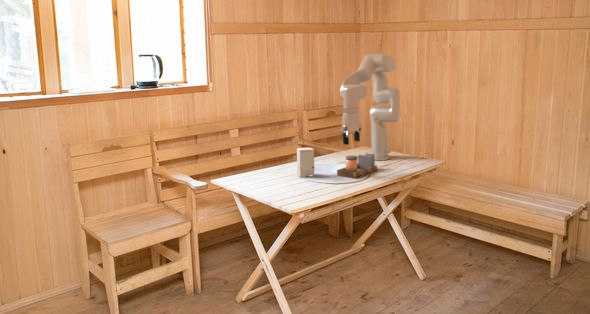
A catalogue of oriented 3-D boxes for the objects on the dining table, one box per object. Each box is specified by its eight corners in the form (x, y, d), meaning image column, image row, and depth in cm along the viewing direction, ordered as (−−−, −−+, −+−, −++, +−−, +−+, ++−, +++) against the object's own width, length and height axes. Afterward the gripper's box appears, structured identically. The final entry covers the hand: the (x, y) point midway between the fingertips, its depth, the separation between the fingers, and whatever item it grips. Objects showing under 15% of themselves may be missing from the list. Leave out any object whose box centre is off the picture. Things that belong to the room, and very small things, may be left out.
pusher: (364, 165, 314) (364, 153, 312) (377, 167, 308) (377, 154, 307) (358, 167, 310) (358, 154, 308) (371, 169, 304) (370, 156, 303)
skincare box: (300, 177, 297) (299, 150, 294) (296, 175, 303) (295, 148, 300) (315, 176, 300) (314, 148, 296) (311, 173, 305) (310, 146, 302)
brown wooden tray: (358, 168, 313) (358, 162, 313) (376, 170, 305) (376, 165, 305) (337, 175, 299) (336, 170, 298) (355, 178, 291) (355, 173, 290)
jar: (350, 171, 303) (350, 154, 301) (360, 172, 298) (360, 156, 297) (343, 173, 298) (343, 157, 296) (353, 175, 294) (353, 158, 292)
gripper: (354, 107, 300) (355, 139, 304) (334, 112, 287) (335, 145, 291) (366, 108, 295) (366, 140, 299) (346, 113, 282) (347, 146, 286)
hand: (351, 142), depth 295 cm, fingers open, 9 cm apart
